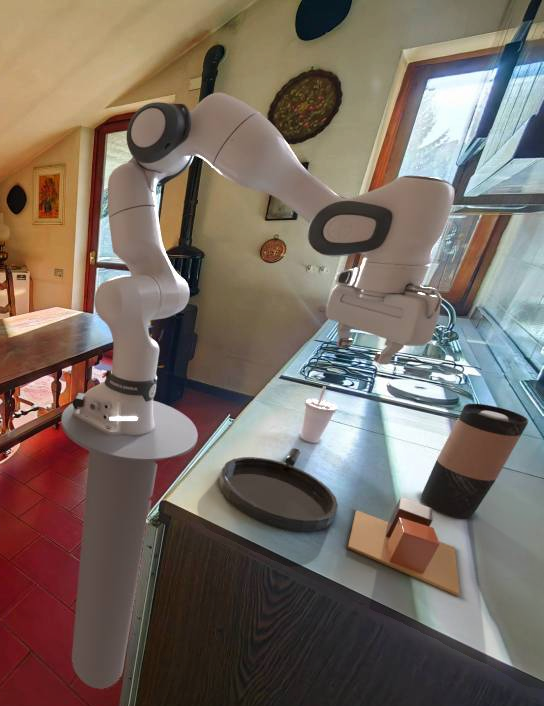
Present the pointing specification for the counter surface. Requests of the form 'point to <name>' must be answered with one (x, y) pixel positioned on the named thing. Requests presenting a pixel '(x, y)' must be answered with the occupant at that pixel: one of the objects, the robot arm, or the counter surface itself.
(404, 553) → the terracotta block
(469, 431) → the travel mug
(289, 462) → the pan handle
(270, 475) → the pan
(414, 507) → the walnut block
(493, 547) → the counter surface
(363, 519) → the mat
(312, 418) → the smoothie
